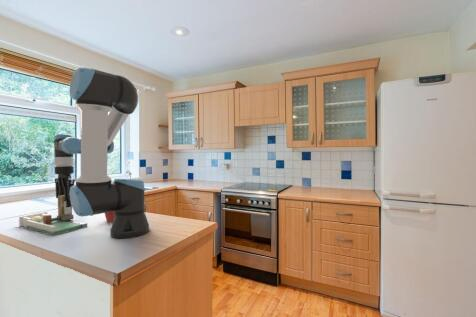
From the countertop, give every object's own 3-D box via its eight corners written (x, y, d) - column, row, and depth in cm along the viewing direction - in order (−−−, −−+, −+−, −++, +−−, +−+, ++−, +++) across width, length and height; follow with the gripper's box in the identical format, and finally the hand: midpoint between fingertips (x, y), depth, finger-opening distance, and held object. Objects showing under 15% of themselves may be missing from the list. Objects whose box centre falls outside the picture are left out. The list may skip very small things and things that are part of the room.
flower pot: (117, 223, 115) (116, 203, 115) (97, 222, 117) (97, 203, 117) (131, 217, 125) (130, 199, 125) (113, 216, 127) (112, 198, 127)
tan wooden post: (73, 218, 117) (72, 194, 117) (47, 224, 108) (47, 198, 108) (66, 217, 120) (66, 193, 120) (41, 223, 110) (40, 197, 110)
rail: (87, 226, 111) (87, 223, 111) (81, 227, 109) (81, 224, 109) (59, 220, 122) (59, 217, 122) (53, 221, 119) (53, 218, 119)
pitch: (81, 228, 108) (81, 218, 108) (53, 235, 98) (53, 224, 98) (46, 220, 122) (46, 211, 122) (19, 226, 112) (18, 216, 112)
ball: (39, 223, 117) (43, 223, 116) (29, 225, 114) (33, 225, 112) (39, 214, 117) (43, 215, 116) (29, 216, 114) (33, 217, 112)
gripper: (82, 165, 116) (83, 213, 116) (63, 165, 123) (64, 209, 124) (65, 166, 109) (66, 217, 110) (46, 165, 117) (47, 213, 117)
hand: (65, 213), depth 117 cm, fingers closed on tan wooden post, 4 cm apart
